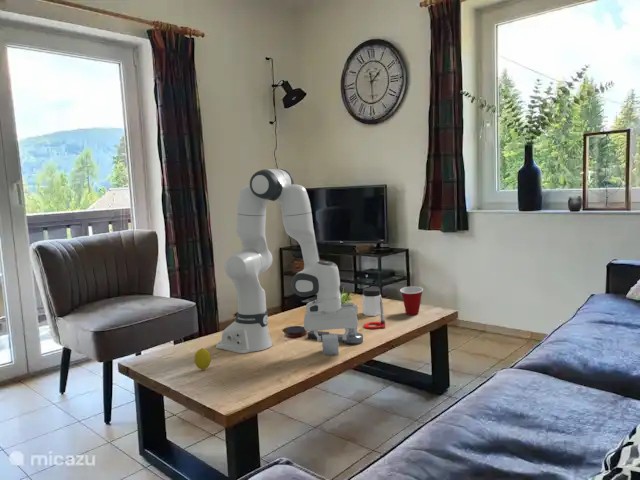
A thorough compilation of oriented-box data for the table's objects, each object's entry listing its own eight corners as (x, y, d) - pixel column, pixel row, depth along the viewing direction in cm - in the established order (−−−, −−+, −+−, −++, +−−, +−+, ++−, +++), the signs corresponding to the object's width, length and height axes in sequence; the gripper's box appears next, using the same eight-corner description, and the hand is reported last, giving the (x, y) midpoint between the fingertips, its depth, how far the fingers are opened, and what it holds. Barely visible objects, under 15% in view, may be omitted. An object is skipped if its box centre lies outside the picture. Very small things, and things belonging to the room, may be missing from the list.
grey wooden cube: (323, 355, 187) (322, 339, 186) (322, 349, 193) (321, 334, 192) (338, 354, 187) (338, 338, 186) (337, 349, 193) (337, 334, 192)
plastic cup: (396, 315, 237) (395, 289, 235) (406, 309, 245) (406, 285, 244) (417, 318, 230) (416, 292, 229) (427, 312, 239) (427, 287, 237)
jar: (383, 315, 237) (382, 290, 235) (367, 317, 235) (366, 292, 234) (377, 310, 246) (376, 286, 244) (361, 312, 244) (360, 288, 242)
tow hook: (364, 330, 216) (385, 329, 216) (361, 301, 215) (383, 299, 214) (363, 325, 225) (384, 323, 224) (361, 296, 223) (382, 295, 223)
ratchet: (305, 340, 205) (305, 326, 204) (313, 334, 212) (313, 320, 212) (359, 345, 196) (358, 330, 195) (365, 339, 203) (365, 324, 202)
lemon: (192, 370, 177) (190, 348, 176) (206, 366, 181) (204, 344, 180) (200, 374, 173) (199, 352, 172) (214, 369, 177) (213, 347, 176)
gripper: (356, 300, 191) (358, 335, 192) (302, 304, 191) (305, 339, 192) (358, 304, 185) (360, 340, 186) (302, 308, 184) (305, 344, 186)
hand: (331, 340), depth 189 cm, fingers open, 8 cm apart
